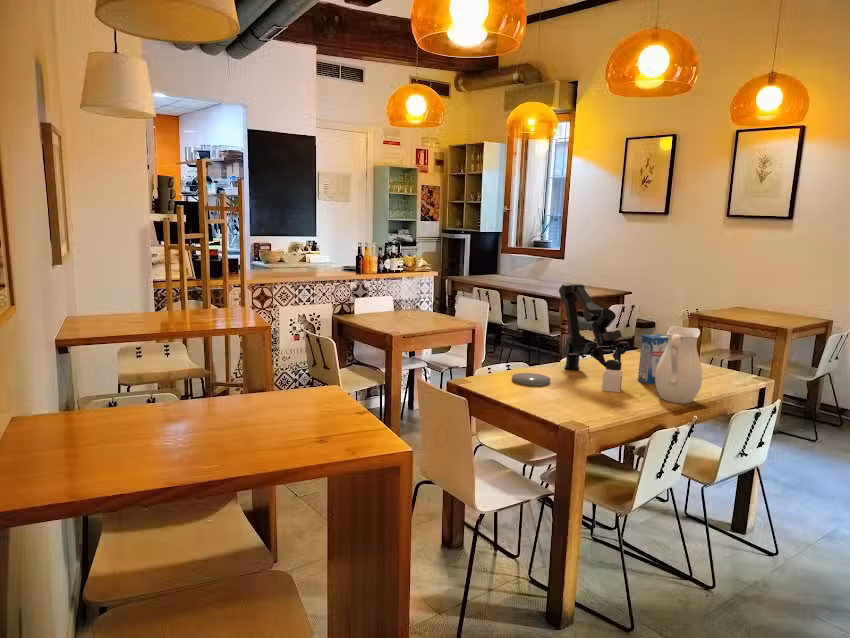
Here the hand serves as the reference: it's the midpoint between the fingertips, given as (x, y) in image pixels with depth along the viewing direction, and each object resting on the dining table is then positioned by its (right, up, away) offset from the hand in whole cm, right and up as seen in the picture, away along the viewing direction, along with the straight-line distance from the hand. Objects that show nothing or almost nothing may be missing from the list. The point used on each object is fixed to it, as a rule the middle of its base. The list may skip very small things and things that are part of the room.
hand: (612, 366), depth 255 cm
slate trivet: (-32, -7, +9) cm, 34 cm away
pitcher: (+20, -13, -13) cm, 27 cm away
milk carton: (+21, -8, +15) cm, 28 cm away
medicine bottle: (0, -10, +1) cm, 10 cm away
